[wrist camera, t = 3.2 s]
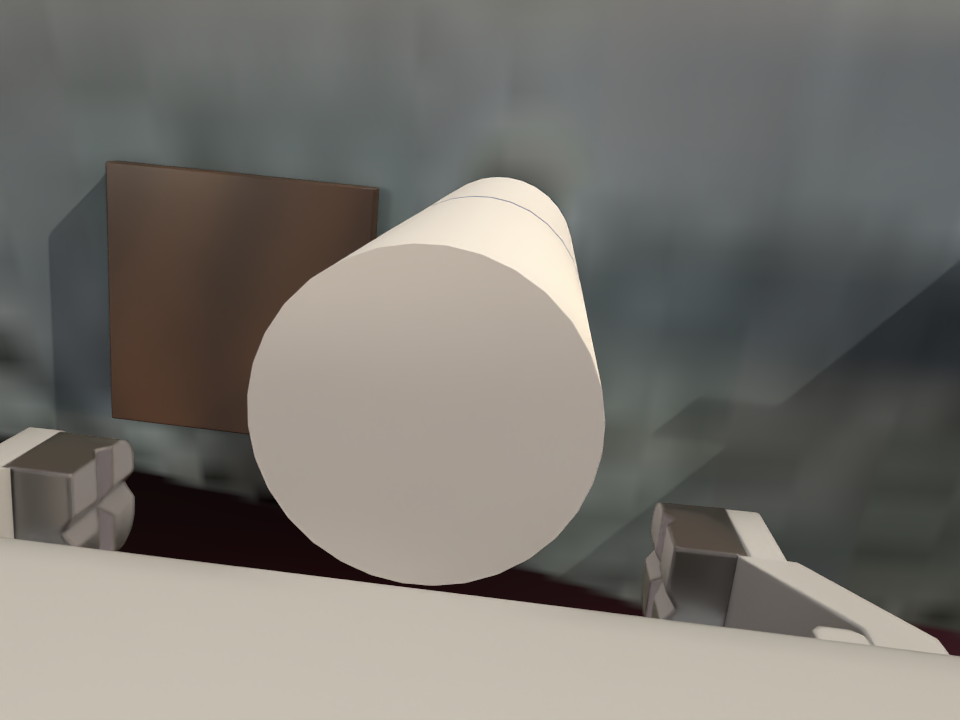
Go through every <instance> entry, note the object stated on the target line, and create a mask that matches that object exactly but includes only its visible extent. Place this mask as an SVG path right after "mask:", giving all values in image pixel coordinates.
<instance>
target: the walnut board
mask: <svg viewBox="0 0 960 720" xmlns="http://www.w3.org/2000/svg"><path fill="white" fill-rule="evenodd" d="M106 195H107V235H108V275H109V316H110V356H111V396H112V418H118V419H126V420H135V421H143V422H152V423H160V424H168V425H177V426H185V427H193V428H202V429H210V430H219V431H227V432H235V433H244V434H250V433H249V428H248V405H247V393H248V387H249V382H250V376H251V370H252V364H253V362H254V359H255V356H256V354H257V351H258V349H259V346H260V344H261V341H262V339H263V336H264V333H265V332H266V330H267V329H268V327H269V326H270V324H271V323H272V321H273V320H274V318H275V317H276V315H277V314H278V312H279V311H280V309H281V308H282V306H283V305H284V304H285V303H286V302H287V301H288V300H289V299H290V298H291V297H292V296H293V295H294V294H295V293H296V292H297V291H298V290H299V289H300V288H301V287H302V286H303V285H304V284H305V283H306V282H307V281H309V280H310V279H311V278H312V277H314V276H316V275H317V274H319V273H321V272H322V271H324V270H325V269H327V268H329V267H330V266H332V265H334V264H335V263H337V262H338V261H340V260H342V259H343V258H345V257H347V256H348V255H350V254H351V253H353V252H355V251H356V250H358V249H360V248H361V247H363V246H364V245H366V244H368V243H369V242H371V241H373V240H374V239H376V231H377V215H378V199H379V188H378V187H369V186H359V185H349V184H340V183H330V182H320V181H311V180H301V179H291V178H282V177H272V176H262V175H252V174H243V173H233V172H223V171H214V170H204V169H194V168H185V167H175V166H165V165H155V164H146V163H136V162H126V161H107V162H106Z"/></svg>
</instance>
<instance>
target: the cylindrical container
mask: <svg viewBox="0 0 960 720" xmlns="http://www.w3.org/2000/svg"><path fill="white" fill-rule="evenodd" d="M247 405H248V428H249V433H250V437H251V442H252V447H253V452H254V456H255V459H256V461H257V464H258V466H259V468H260V471H261V473H262V475H263V478H264V480H265V482H266V485H267V487H268V489H269V490H270V492H271V493H272V495H273V496H274V498H275V499H276V501H277V502H278V504H279V505H280V507H281V508H282V510H283V511H284V512H285V514H286V515H287V517H288V518H289V519H290V520H291V521H292V522H293V523H294V524H295V525H296V526H297V527H298V528H299V529H300V530H301V531H302V532H303V533H304V534H305V535H306V536H307V537H308V538H309V539H310V540H311V541H312V542H314V543H315V544H317V545H318V546H319V547H321V548H322V549H324V550H325V551H327V552H328V553H330V554H331V555H333V556H334V557H336V558H337V559H338V560H340V561H342V562H344V563H346V564H348V565H350V566H353V567H355V568H357V569H360V570H362V571H364V572H366V573H368V574H370V575H374V576H378V577H381V578H385V579H389V580H393V581H397V582H400V583H411V584H421V585H432V586H433V585H446V584H459V583H467V582H471V581H474V580H478V579H482V578H485V577H489V576H493V575H497V574H499V573H501V572H503V571H505V570H507V569H509V568H511V567H514V566H516V565H518V564H520V563H522V562H524V561H526V560H528V559H529V558H531V557H532V556H533V555H535V554H536V553H537V552H538V551H540V550H541V549H542V548H544V547H545V546H546V545H547V544H549V543H550V542H551V541H553V540H554V539H555V538H556V537H557V536H558V535H559V534H560V532H561V531H562V530H563V529H564V528H565V527H566V525H567V524H568V523H569V522H570V521H571V519H572V518H573V517H574V516H575V515H576V514H577V512H578V511H579V509H580V507H581V505H582V503H583V501H584V499H585V498H586V496H587V494H588V492H589V490H590V488H591V487H592V485H593V482H594V479H595V476H596V472H597V469H598V466H599V463H600V459H601V456H602V450H603V440H604V430H605V415H604V405H603V395H602V387H601V382H600V377H599V373H598V368H597V363H596V358H595V353H594V349H593V344H592V339H591V334H590V329H589V324H588V319H587V314H586V309H585V304H584V299H583V294H582V289H581V284H580V279H579V275H578V270H577V265H576V260H575V256H574V251H573V245H572V240H571V236H570V232H569V229H568V226H567V223H566V221H565V219H564V217H563V215H562V214H561V212H560V210H559V208H558V207H557V206H556V205H555V204H554V203H553V201H552V200H551V199H550V198H549V197H548V196H547V195H545V194H544V193H543V192H541V191H540V190H539V189H537V188H536V187H534V186H532V185H530V184H528V183H526V182H523V181H520V180H516V179H512V178H503V177H493V178H485V179H480V180H477V181H474V182H471V183H468V184H466V185H465V186H463V187H461V188H459V189H458V190H456V191H454V192H452V193H451V194H449V195H447V196H446V197H444V198H442V199H441V200H439V201H438V202H436V203H434V204H433V205H431V206H429V207H428V208H426V209H425V210H423V211H421V212H420V213H418V214H416V215H415V216H413V217H411V218H409V219H408V220H406V221H404V222H403V223H401V224H399V225H397V226H396V227H394V228H392V229H391V230H389V231H387V232H386V233H384V234H382V235H381V236H379V237H377V238H376V239H374V240H373V241H371V242H369V243H368V244H366V245H364V246H363V247H361V248H360V249H358V250H356V251H355V252H353V253H351V254H350V255H348V256H347V257H345V258H343V259H342V260H340V261H338V262H337V263H335V264H334V265H332V266H330V267H329V268H327V269H325V270H324V271H322V272H321V273H319V274H317V275H316V276H314V277H312V278H311V279H310V280H309V281H307V282H306V283H305V284H304V285H303V286H302V287H301V288H300V289H299V290H298V291H297V292H296V293H295V294H294V295H293V296H292V297H291V298H290V299H289V300H288V301H287V302H286V303H285V304H284V305H283V306H282V308H281V309H280V311H279V312H278V314H277V315H276V317H275V318H274V320H273V321H272V323H271V324H270V326H269V327H268V329H267V330H266V332H265V333H264V336H263V339H262V341H261V344H260V346H259V349H258V351H257V354H256V356H255V359H254V362H253V364H252V370H251V376H250V382H249V387H248V393H247Z"/></svg>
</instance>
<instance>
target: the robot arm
mask: <svg viewBox="0 0 960 720" xmlns="http://www.w3.org/2000/svg"><path fill="white" fill-rule="evenodd" d="M133 471H134V459H133V449H132V447H131V445H130V444H129V442H128V441H127V440H119V439H112V438H105V437H97V436H90V435H82V434H75V433H67V432H64V431H61V430H51V429H41V428H30V427H29V428H27V429H26V430H24V431H22V432H20V433H18V434H17V435H15V436H13V437H11V438H9V439H8V440H6V441H4V442H2V443H0V720H960V656H953V655H949V653H948V652H947V651H946V650H945V648H944V647H943V646H942V644H941V643H940V642H939V640H938V639H936V638H934V637H932V636H931V635H929V634H927V633H925V632H923V631H921V630H920V629H918V628H916V627H914V626H912V625H911V624H909V623H907V622H905V621H903V620H901V619H900V618H898V617H896V616H894V615H892V614H890V613H889V612H887V611H885V610H883V609H881V608H879V607H878V606H876V605H874V604H872V603H870V602H868V601H867V600H865V599H863V598H861V597H859V596H857V595H856V594H854V593H852V592H850V591H848V590H847V589H845V588H843V587H841V586H839V585H837V584H836V583H834V582H832V581H830V580H828V579H826V578H825V577H823V576H821V575H819V574H817V573H815V572H814V571H812V570H810V569H808V568H806V567H804V566H803V565H801V564H799V563H797V562H789V561H787V560H786V559H785V557H784V555H783V554H782V552H781V550H780V548H779V547H778V545H777V543H776V542H775V540H774V538H773V536H772V535H771V533H770V531H769V530H768V528H767V526H766V524H765V523H764V521H763V519H762V518H761V516H760V514H758V513H755V512H747V511H736V510H725V509H724V508H714V507H704V506H693V505H683V504H672V503H662V502H659V503H658V504H656V506H655V509H654V513H653V517H652V523H651V528H650V534H651V538H652V542H653V546H654V551H653V552H652V553H651V554H650V555H649V556H648V557H647V558H646V559H645V566H644V573H643V582H642V610H643V616H644V617H640V616H632V615H624V614H615V613H608V612H600V611H592V610H584V609H576V608H568V607H560V606H552V605H543V604H536V603H527V602H520V601H511V600H504V599H496V598H487V597H479V596H471V595H463V594H455V593H447V592H439V591H431V590H423V589H414V588H406V587H399V586H390V585H383V584H375V583H366V582H358V581H350V580H342V579H334V578H326V577H317V576H310V575H302V574H294V573H285V572H278V571H269V570H261V569H253V568H245V567H237V566H229V565H221V564H213V563H205V562H197V561H189V560H181V559H173V558H165V557H157V556H148V555H140V554H132V553H124V552H117V551H118V550H119V549H120V548H121V547H122V546H123V545H124V544H125V542H126V539H127V537H128V535H129V533H130V531H131V528H132V524H133V518H134V512H135V502H134V501H135V497H134V495H133V494H132V493H131V491H130V489H129V488H128V486H127V485H126V483H125V481H126V480H127V478H128V477H129V476H130V474H131V473H132V472H133Z"/></svg>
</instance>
